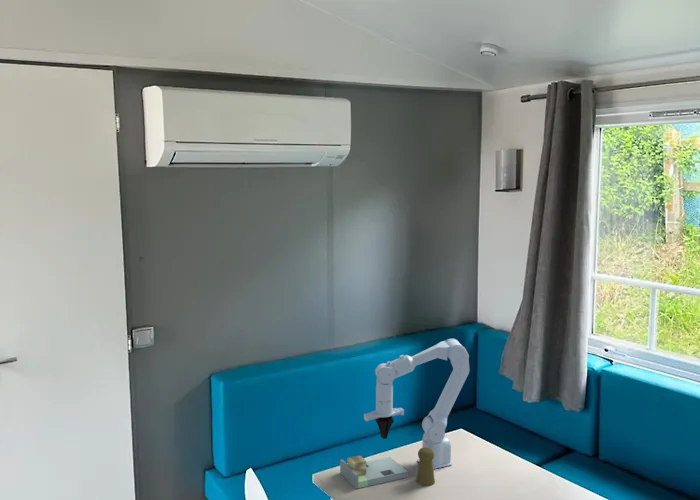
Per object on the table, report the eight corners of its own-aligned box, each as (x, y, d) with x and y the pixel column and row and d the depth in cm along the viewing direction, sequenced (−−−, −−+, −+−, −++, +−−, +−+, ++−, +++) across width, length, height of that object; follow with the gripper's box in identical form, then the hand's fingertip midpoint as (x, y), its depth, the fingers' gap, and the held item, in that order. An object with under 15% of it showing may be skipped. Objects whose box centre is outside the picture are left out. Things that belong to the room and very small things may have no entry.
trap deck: (389, 462, 215) (390, 449, 215) (407, 477, 204) (407, 464, 204) (340, 472, 207) (340, 460, 207) (355, 488, 196) (355, 475, 196)
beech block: (360, 468, 206) (360, 455, 206) (366, 474, 202) (366, 461, 201) (347, 471, 204) (347, 457, 204) (353, 477, 200) (353, 463, 199)
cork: (434, 486, 198) (434, 454, 197) (415, 484, 199) (415, 452, 198) (435, 478, 204) (436, 446, 203) (417, 476, 205) (417, 444, 204)
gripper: (397, 392, 217) (396, 429, 219) (360, 398, 211) (359, 436, 213) (407, 399, 211) (406, 437, 212) (369, 405, 205) (369, 444, 206)
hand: (383, 437), depth 212 cm, fingers closed
